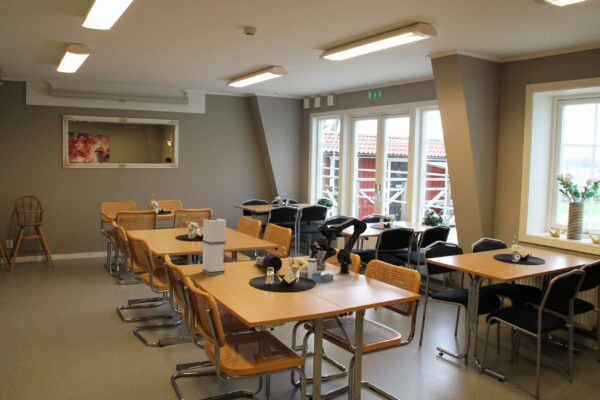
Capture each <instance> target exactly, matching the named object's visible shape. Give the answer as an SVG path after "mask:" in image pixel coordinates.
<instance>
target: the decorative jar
mask: <svg viewBox="0 0 600 400" xmlns="http://www.w3.org/2000/svg"><path fill="white" fill-rule="evenodd" d="M314 244H315V245H316V246H317V247H320V246H318V243H316V241H315V242H314ZM308 249H309V251H308V253H309V254H308V259H311V254H312V251H311V249H310V248H309V247H308ZM325 254H326V252H325V251H320V250H318V252H317V254H316V255H315V257H314V258H313V259H317V270H325V269H326V261H327V260H325V261H323V258H324V256H325Z"/></svg>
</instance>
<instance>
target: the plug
mask: <svg viewBox="0 0 600 400" xmlns="http://www.w3.org/2000/svg"><path fill="white" fill-rule="evenodd" d="M307 270H308V277H307V278H310V279H312V274H313V273H317V272H318V271H317V270H318V269H317V259H309V258H308V259H307ZM310 279H309V280H310Z"/></svg>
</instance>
